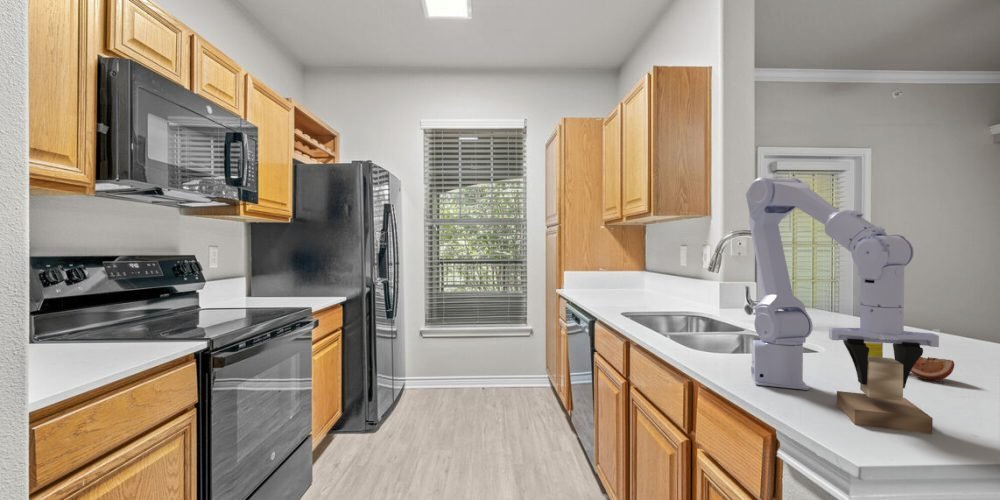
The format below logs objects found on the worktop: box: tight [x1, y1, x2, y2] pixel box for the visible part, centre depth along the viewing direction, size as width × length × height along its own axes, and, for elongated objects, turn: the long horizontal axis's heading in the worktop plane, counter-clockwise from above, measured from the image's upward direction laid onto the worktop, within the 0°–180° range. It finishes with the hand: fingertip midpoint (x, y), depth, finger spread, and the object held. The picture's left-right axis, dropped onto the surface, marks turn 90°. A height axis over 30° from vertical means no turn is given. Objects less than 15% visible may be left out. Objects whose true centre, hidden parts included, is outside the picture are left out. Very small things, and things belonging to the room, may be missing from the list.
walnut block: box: [836, 390, 934, 435], centre depth 78 cm, size 10×10×3 cm
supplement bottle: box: [864, 338, 884, 358], centre depth 111 cm, size 5×5×8 cm
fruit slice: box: [910, 356, 955, 381], centre depth 101 cm, size 8×7×5 cm
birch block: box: [859, 356, 904, 401], centre depth 78 cm, size 4×4×6 cm
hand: (880, 384), depth 78 cm, fingers closed on birch block, 4 cm apart
